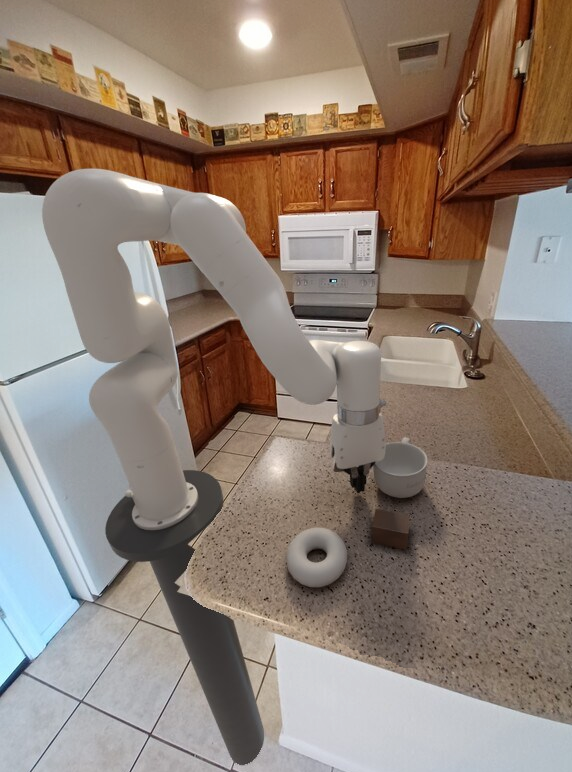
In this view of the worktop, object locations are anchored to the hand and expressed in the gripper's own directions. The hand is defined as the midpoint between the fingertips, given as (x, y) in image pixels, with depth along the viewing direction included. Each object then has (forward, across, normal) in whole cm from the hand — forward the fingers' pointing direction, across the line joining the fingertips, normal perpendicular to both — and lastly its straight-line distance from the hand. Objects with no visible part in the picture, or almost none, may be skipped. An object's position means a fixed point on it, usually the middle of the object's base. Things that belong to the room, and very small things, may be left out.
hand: (358, 487), depth 67 cm
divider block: (+2, -1, +12) cm, 12 cm away
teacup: (+2, -10, 0) cm, 10 cm away
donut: (+2, +12, +12) cm, 17 cm away
